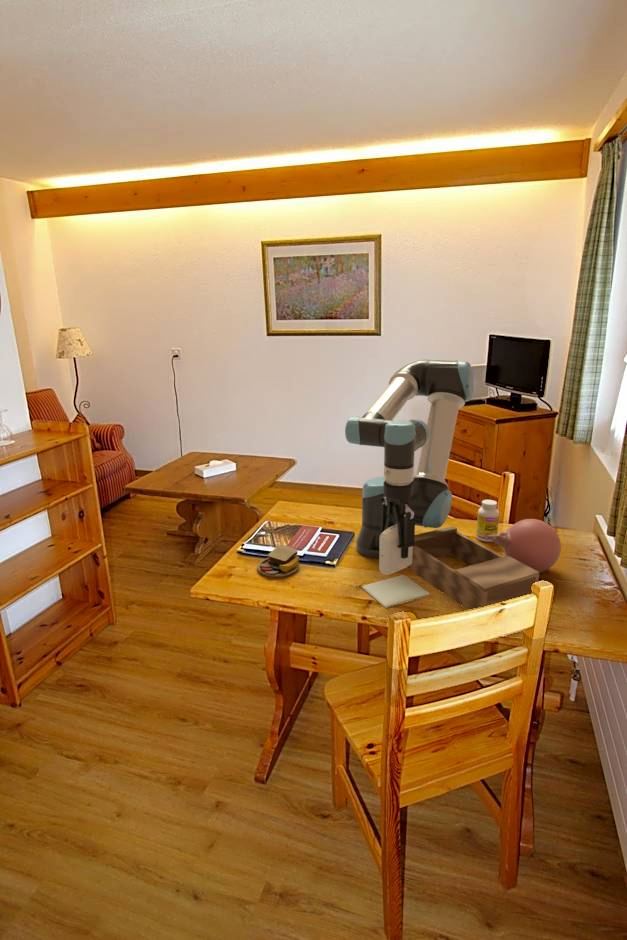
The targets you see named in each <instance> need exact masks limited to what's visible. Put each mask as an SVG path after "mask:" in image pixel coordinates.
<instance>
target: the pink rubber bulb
mask: <svg viewBox="0 0 627 940" xmlns="http://www.w3.org/2000/svg"><path fill="white" fill-rule="evenodd" d="M488 539H491V540H493V543H494V544H495V545H496V546H501V547H502V549H503V550H504V553H505V556H507V555H508V556H510V557H512V558H514V559H516V560H517V561H519V562H521V563H523V564H525V565H527V566H529V567H531V568H532V569H534V570H536V571H538V572H539V573H542V572H544V571H547V570H550V568H552V567H553V566H554V565H555V564H557V561H558V560H559V558H560V555H561V551H562V544H561V538H560V536H559V534H558V533H557V531H556V530H555V529H554V528H553V526H552V525H550V524H549V523H548V522H546V521H543V520H541V519H538V518H537V519H536V518H525V519H521V520H519V521H516V522H515V523H514V524H513V525H512V526H510V527H508V528H507V529H505V531H501V532H499V533H497V535H489V536H488Z"/></svg>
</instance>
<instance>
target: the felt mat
mask: <svg viewBox="0 0 627 940" xmlns="http://www.w3.org/2000/svg"><path fill="white" fill-rule="evenodd" d="M361 589H363V590H364V591H365V592H366V593H367V594H369V596H370V597H372V598H373V599H374V600H375V601H376V602H377V603H379V604H380V605H381V606H382V607H383V608H384V609H388V607H389V608H392V607H395V606H398V605H397V604H399V605H401V604H400V603H402V604H404V603H403V602H406V601H409V602H411V601H410V600H412V601H415V600H414V599H416V600H418V598H419V599H422V597H423V598H426V597H430V595H431V593H430V592H428V591H427V590H426V589H424V588H423V587H422V586H420V585H419V584H417V583H416V582H414V580H412V579H411V578H409V577H408V576H407V575H405V574H402V575H398V576H394V577H390V578H386V579H382V580H379V581H376V582H372V583H369V584H364V585H362V586H361ZM406 603H407V602H406ZM394 605H395V606H394ZM391 606H392V607H391Z"/></svg>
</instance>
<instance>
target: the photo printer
mask: <svg viewBox="0 0 627 940" xmlns="http://www.w3.org/2000/svg"><path fill="white" fill-rule="evenodd" d="M398 545H400V543H399V535H398V526H397V524H396V525H393V526H391V527H389V528H388V529H386V530H385V531H383V532H382V533H381V535H380V538H379V558H378V561H379V562H378V568H379V571H380V573H381V574H383V575H386V576H389V575H391V574H392V575H393V574H394V573H397V572H399V571H401V570H404V569H405V568H403V569H399V570H398V569H397V549H398ZM412 555H413V546H411V547H408V558H407V567H408V566H410V565H411V564H412Z"/></svg>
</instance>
